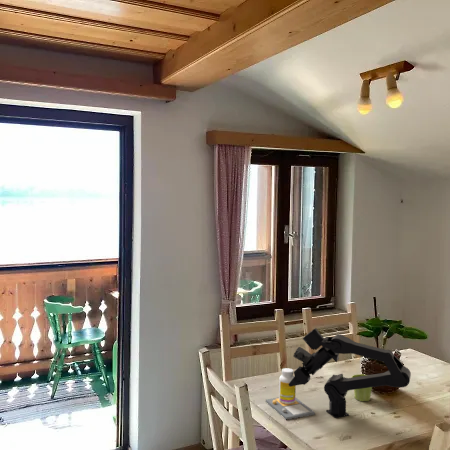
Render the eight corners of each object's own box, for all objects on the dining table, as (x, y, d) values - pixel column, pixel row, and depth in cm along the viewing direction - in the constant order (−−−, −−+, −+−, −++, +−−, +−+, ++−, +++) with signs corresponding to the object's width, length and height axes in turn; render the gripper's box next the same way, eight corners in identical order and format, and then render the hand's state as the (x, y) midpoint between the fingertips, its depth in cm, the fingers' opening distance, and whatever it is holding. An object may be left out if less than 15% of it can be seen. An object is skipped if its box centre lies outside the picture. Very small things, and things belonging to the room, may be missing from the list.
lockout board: (314, 414, 191) (314, 409, 191) (286, 420, 187) (286, 414, 186) (292, 397, 207) (292, 392, 207) (265, 401, 202) (265, 397, 202)
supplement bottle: (297, 404, 198) (297, 373, 197) (280, 404, 197) (281, 373, 196) (293, 397, 204) (293, 367, 203) (277, 397, 204) (277, 367, 203)
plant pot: (377, 397, 208) (377, 377, 207) (369, 405, 200) (370, 384, 199) (355, 392, 213) (356, 372, 212) (347, 399, 205) (348, 379, 205)
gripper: (312, 336, 204) (286, 358, 210) (299, 349, 187) (271, 373, 193) (331, 357, 202) (304, 379, 207) (319, 372, 185) (290, 396, 190)
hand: (292, 381), depth 199 cm, fingers open, 9 cm apart
